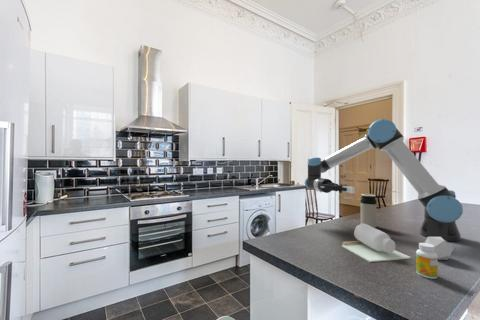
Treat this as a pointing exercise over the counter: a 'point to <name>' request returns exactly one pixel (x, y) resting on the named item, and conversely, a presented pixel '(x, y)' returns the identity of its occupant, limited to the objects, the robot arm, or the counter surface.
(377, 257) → the mat
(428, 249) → the supplement bottle
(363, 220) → the travel mug
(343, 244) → the stop strip
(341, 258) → the counter surface
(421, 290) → the counter surface
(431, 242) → the die
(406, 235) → the counter surface
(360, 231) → the pill bottle
